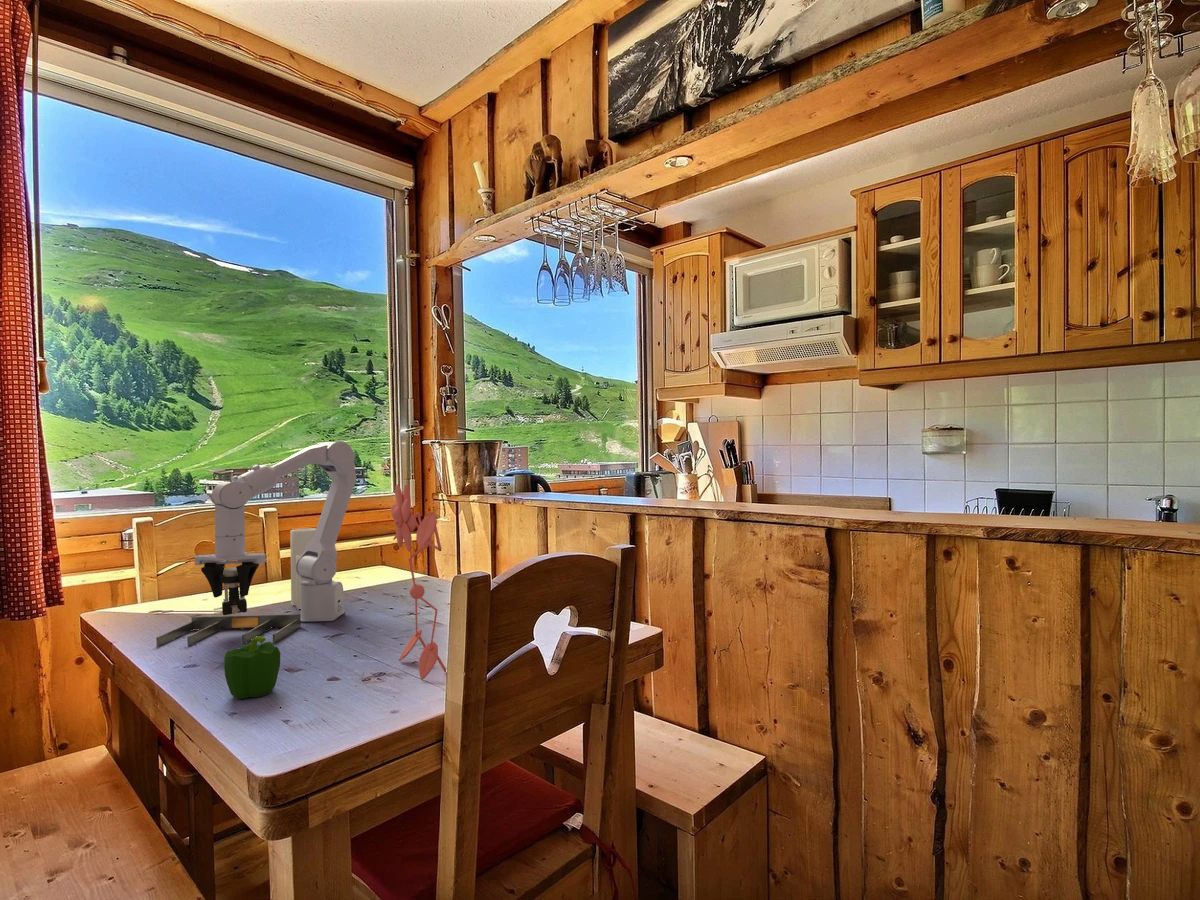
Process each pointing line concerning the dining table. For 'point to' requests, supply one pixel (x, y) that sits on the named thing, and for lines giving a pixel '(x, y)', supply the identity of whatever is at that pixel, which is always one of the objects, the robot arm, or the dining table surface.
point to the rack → (235, 626)
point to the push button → (231, 593)
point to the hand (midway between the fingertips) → (230, 596)
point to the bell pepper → (252, 669)
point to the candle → (298, 545)
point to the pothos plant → (427, 527)
